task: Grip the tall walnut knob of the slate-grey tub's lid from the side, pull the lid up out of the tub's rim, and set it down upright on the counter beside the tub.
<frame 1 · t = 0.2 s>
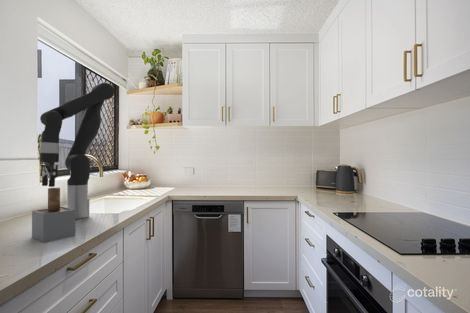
hand: (48, 186, 125), 17 cm above the worktop, tool pointing down, fingers open, 8 cm apart
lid: (53, 213, 104), point 9 cm above the worktop, touching tub
tub: (53, 236, 104), on the worktop
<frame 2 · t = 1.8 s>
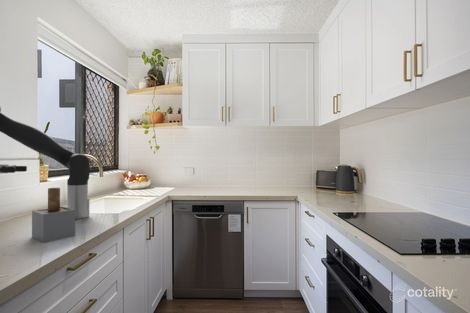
hand: (21, 169, 101), 27 cm above the worktop, tool horizontal, fingers open, 8 cm apart
nothing on the worktop moved.
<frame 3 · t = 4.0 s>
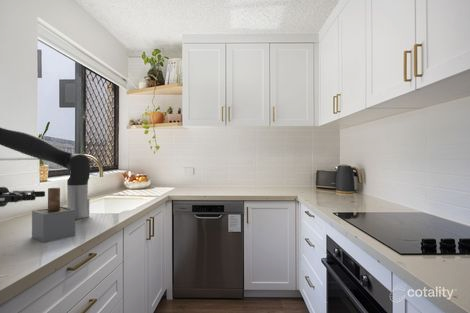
hand: (40, 195, 103), 16 cm above the worktop, tool horizontal, fingers open, 8 cm apart
nothing on the worktop moved.
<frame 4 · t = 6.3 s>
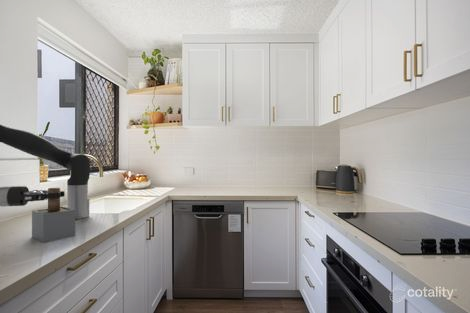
hand: (62, 194, 105), 16 cm above the worktop, tool horizontal, fingers closed on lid, 4 cm apart
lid: (54, 213, 104), point 9 cm above the worktop, touching gripper, tub
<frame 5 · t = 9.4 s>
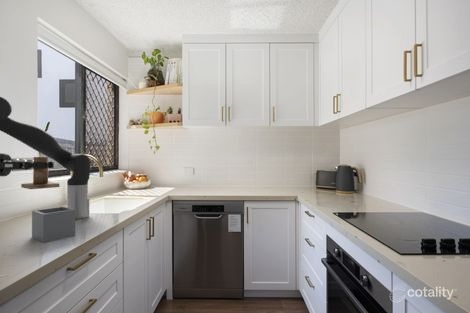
hand: (50, 165, 89), 29 cm above the worktop, tool horizontal, fingers closed on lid, 4 cm apart
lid: (40, 187, 88), point 21 cm above the worktop, touching gripper
when the fingers open (9 cm above the worktop, at t = 12.4 s): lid drops 1 cm, on the worktop.
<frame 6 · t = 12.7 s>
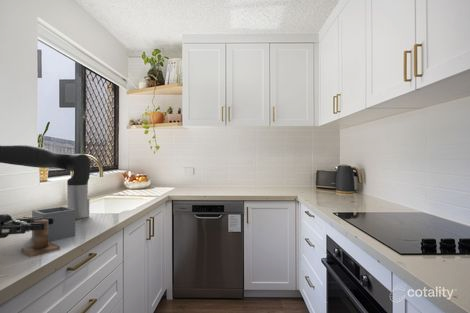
hand: (49, 223, 89), 9 cm above the worktop, tool horizontal, fingers open, 6 cm apart
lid: (40, 250, 89), on the worktop
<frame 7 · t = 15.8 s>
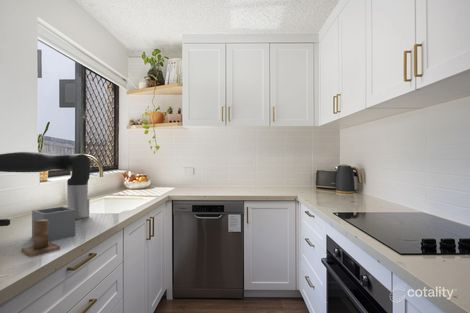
hand: (2, 225, 86), 9 cm above the worktop, tool horizontal, fingers open, 8 cm apart
nothing on the worktop moved.
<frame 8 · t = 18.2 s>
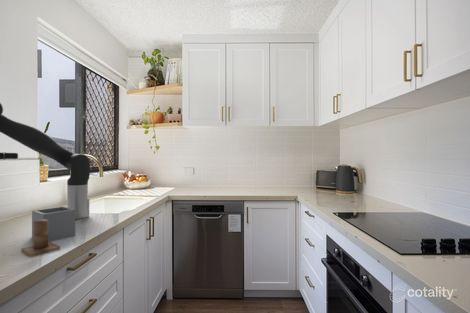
hand: (11, 155, 93), 32 cm above the worktop, tool horizontal, fingers open, 8 cm apart
nothing on the worktop moved.
at the end: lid inside the target area (0.1 cm from its centre), on the worktop; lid tilted 0°; the gripper is holding nothing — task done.
